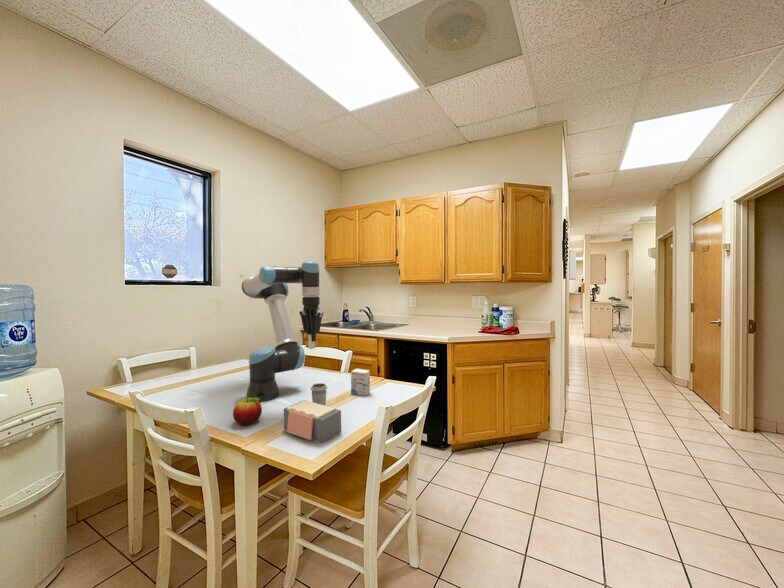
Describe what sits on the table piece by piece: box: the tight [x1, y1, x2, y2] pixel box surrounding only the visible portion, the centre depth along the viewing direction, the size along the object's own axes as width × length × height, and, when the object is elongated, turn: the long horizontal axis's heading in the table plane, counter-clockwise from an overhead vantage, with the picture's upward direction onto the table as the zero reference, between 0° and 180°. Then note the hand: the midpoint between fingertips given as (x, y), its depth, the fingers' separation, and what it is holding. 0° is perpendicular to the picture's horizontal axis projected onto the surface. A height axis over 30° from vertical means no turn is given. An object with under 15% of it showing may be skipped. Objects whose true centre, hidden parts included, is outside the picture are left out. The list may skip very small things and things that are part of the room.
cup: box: [310, 382, 328, 406], centre depth 141 cm, size 7×7×12 cm
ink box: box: [350, 368, 371, 397], centre depth 164 cm, size 9×5×12 cm, turn 68°
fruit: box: [232, 397, 263, 426], centre depth 132 cm, size 11×11×10 cm
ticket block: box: [283, 400, 342, 444], centre depth 124 cm, size 20×10×9 cm, turn 58°
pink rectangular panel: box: [286, 411, 313, 441], centre depth 119 cm, size 12×8×1 cm
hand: (311, 348), depth 148 cm, fingers closed
